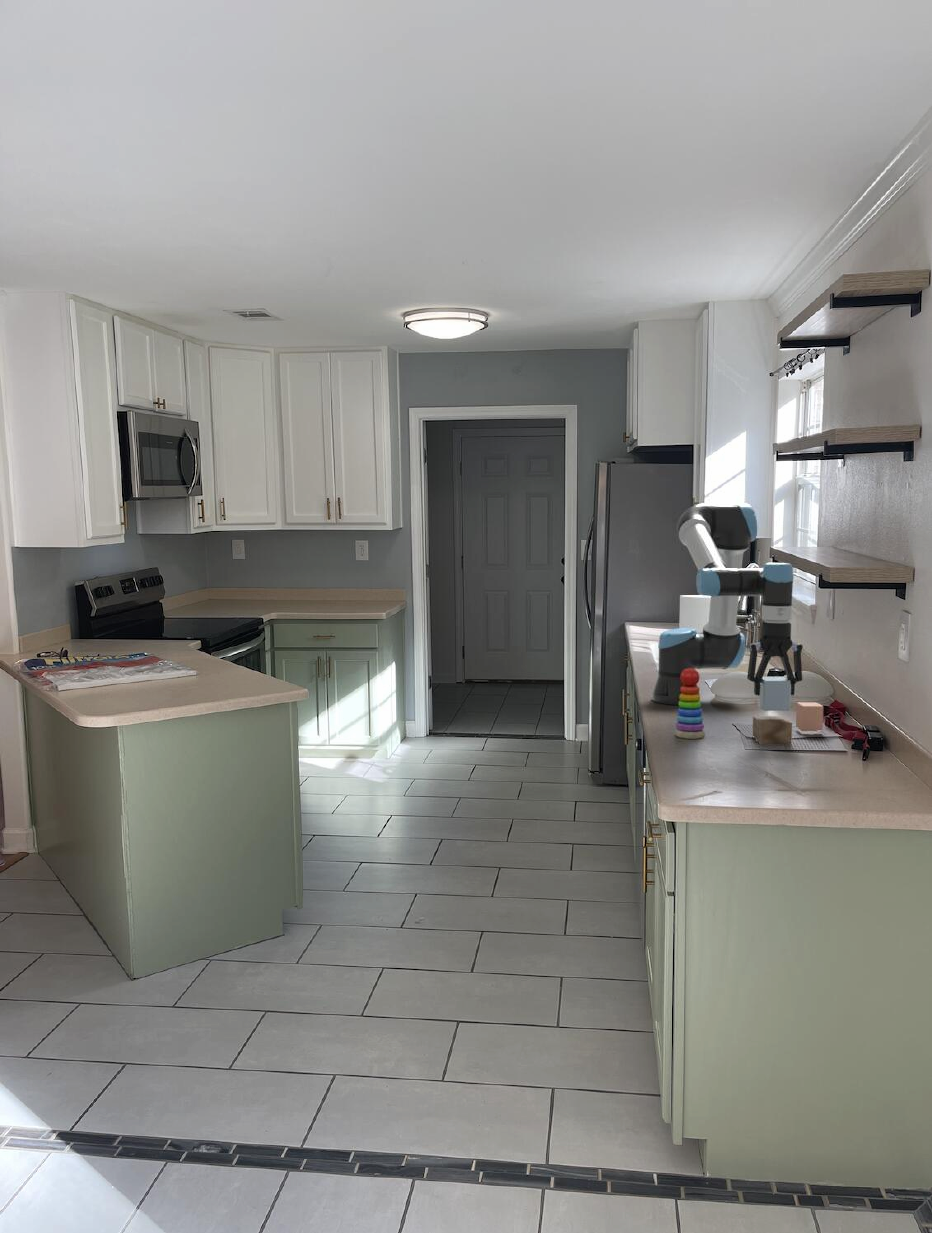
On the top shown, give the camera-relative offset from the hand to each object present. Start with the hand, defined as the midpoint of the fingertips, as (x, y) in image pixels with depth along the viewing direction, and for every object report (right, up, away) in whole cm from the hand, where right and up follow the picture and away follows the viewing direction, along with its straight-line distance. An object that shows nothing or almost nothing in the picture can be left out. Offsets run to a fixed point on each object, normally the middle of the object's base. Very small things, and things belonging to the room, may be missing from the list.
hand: (773, 707), depth 258 cm
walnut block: (0, -9, +1) cm, 9 cm away
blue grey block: (0, 0, 0) cm, 0 cm away
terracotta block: (+13, -8, +11) cm, 19 cm away
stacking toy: (-21, -9, +6) cm, 24 cm away
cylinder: (+12, +5, +130) cm, 131 cm away
